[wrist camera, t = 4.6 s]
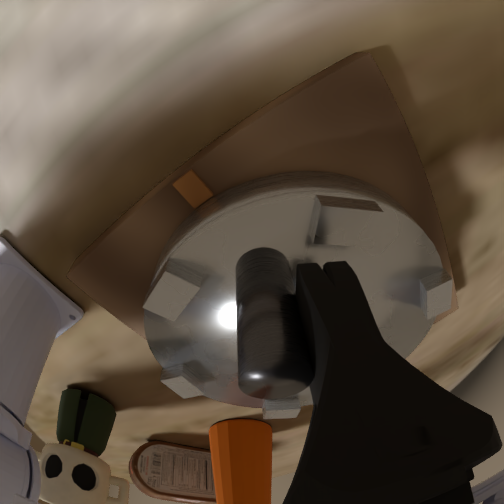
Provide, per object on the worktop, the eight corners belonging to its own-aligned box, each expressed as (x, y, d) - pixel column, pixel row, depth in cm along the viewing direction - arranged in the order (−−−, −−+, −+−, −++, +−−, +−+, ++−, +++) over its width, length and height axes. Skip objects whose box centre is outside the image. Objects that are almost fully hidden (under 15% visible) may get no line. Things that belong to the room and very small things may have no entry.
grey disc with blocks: (425, 330, 19) (464, 415, 13) (234, 396, 22) (237, 483, 16) (401, 120, 11) (530, 203, 5) (95, 255, 14) (38, 381, 8)
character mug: (139, 398, 26) (125, 524, 15) (137, 423, 29) (127, 525, 19) (38, 368, 23) (4, 483, 13) (51, 398, 27) (28, 494, 16)
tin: (131, 438, 33) (125, 493, 26) (135, 432, 32) (128, 491, 25) (234, 457, 38) (236, 507, 31) (243, 451, 36) (246, 505, 29)
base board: (253, 391, 25) (254, 407, 24) (75, 259, 16) (64, 278, 15) (449, 294, 19) (459, 309, 18) (356, 52, 10) (371, 53, 9)
